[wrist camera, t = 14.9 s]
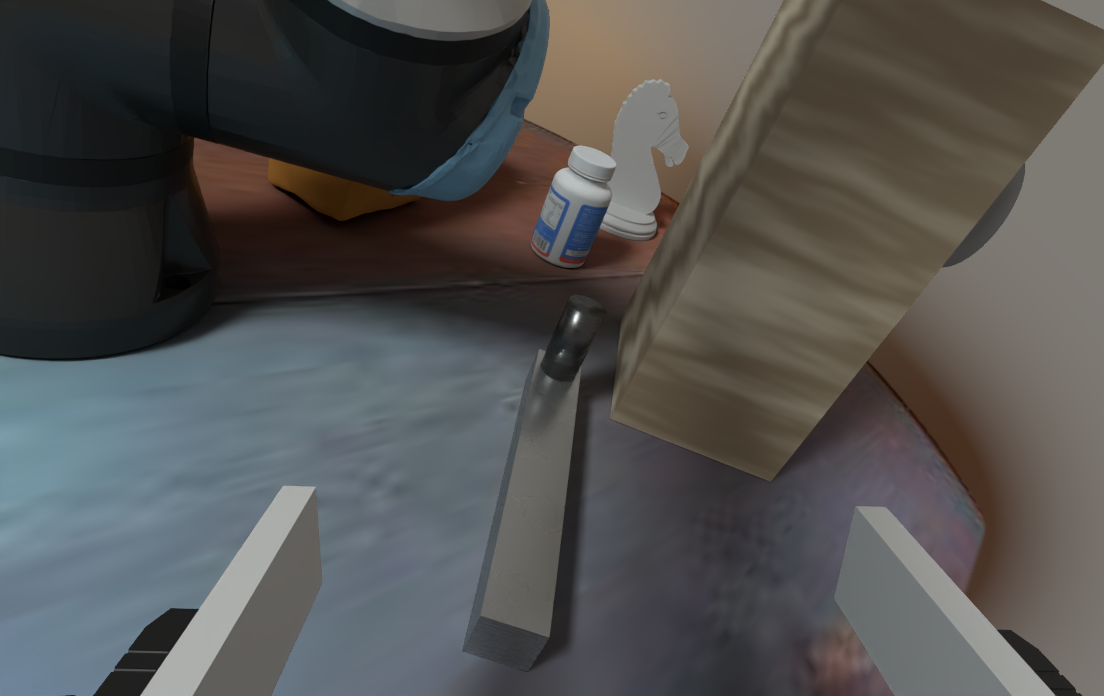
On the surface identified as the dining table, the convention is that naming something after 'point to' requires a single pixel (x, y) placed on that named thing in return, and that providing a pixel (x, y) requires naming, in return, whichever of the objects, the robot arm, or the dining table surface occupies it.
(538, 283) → the dining table surface
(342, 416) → the dining table surface
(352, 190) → the coffee package
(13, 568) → the dining table surface
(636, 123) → the chess piece
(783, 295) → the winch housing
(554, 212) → the pill bottle
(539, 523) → the crank handle
